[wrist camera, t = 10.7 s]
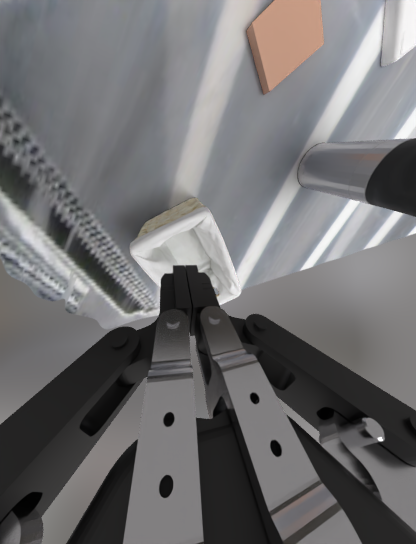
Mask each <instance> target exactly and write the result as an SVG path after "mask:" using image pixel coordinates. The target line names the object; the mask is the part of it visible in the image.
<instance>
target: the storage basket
mask: <svg viewBox="0 0 416 544" xmlns="http://www.w3.org/2000/svg"><path fill="white" fill-rule="evenodd" d="M130 254H131V255H132V257H133V258H134V259H135V261H136V262H137V263H138V264H139V265H140V266H141V268H142V269H143V270H144V271H145V272H146V273H147V274H148V276H149V277H150V278H151V279H152V280H153V281H154V282H155V283H156V285H157V286H158V287H159V288H160V289H161V278H162V276H163V275H164V273H173V265H184V266H185V265H197V268H198V272H205V273H206V274H207V275H208V276H209V277H210V280H211V284H212V286H213V288H216V289H217V291H218V292H219V294H218V295H216V297H217V300H218V303H219V305H221V304H223V303H226V302H228V301H230V300H232V299H234V298H236V297H238V296H239V295H240V293H241V287H240V283H239V280H238V277H237V274H236V271H235V269H234V266H233V263H232V261H231V258H230V255H229V253H228V250H227V247H226V245H225V242H224V240H223V237H222V235H221V233H220V231H219V228H218V226H217V224H216V222H215V220H214V217H213V215H212V213H211V211H210V210H209V209H208V208H207V207H206V206H204V205H203V204H202V203H201V202H200V201H198V198H191V199H189V200H187V201H186V202H183V203H181V204H179V205H177V206H175V207H173V208H171V209H170V210H167V211H165V212H163V213H162V214H160V215H158V216H155V217H154V218H153V219H150V220H148V221H147V222H146V223H145V224H144V225H143V227H142V228H141V230H140V232H139V234H138V237H137V238H136V239H135V240H134V241H132V242H131V244H130Z"/></svg>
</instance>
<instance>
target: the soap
mask: <svg viewBox="0 0 416 544" xmlns="http://www.w3.org/2000/svg"><path fill="white" fill-rule="evenodd" d="M415 46H416V0H386V4H385V17H384V30H383V42H382V55H381V66H382V67H383V66H386V65H389V64H392V63H394V62H396V61H397V60H399V59H400V58H401V57H403V56H404V55H405V54H406V53H407V52H409V51H410V50H411V49H412V48H414V47H415Z"/></svg>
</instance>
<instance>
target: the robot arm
mask: <svg viewBox="0 0 416 544" xmlns="http://www.w3.org/2000/svg"><path fill="white" fill-rule="evenodd" d="M298 179H299V182H300V184H301V185H302V186H303V187H305V188H309V189H313V190H317V191H321V192H324V193H328V194H332V195H336V196H340V197H344V198H348V199H352V200H355V201H360V202H363V203H367V204H371V205H375V206H379V207H383V208H386V209H390V210H394V211H397V212H401V213H405V214H408V215H411V216H415V217H416V138H415V139H394V140H376V141H355V142H333V143H320V144H317V145H315V146H314V147H312V148H311V149H310V150H309V151H308V152H307V153H306V155H305V156H304V158H303V159H302V161H301V164H300V166H299V170H298ZM189 332H190V336H193V335H195V338H196V353H197V357H198V362H199V366H200V370H201V374H202V378H203V382H204V387H205V398H206V405H207V410H208V414H209V419H202V418H196V411H195V395H194V380H193V368H192V365H191V354H190V336H189ZM145 377H147V382H146V389H145V396H144V403H143V410H142V416H141V424H140V430H139V437H138V439H137V440H136V441H135V442H134V443H133V444H132V445H131V446H130V447H128V449H126V451H125V452H124V453H123V454H122V455H121V457H120V458H119V459H118V460H117V462H116V463H115V464H114V466H113V467H112V469H111V470H110V472H109V473H108V475H107V476H106V478H105V480H104V481H103V483H102V485H101V486H100V488H99V490H98V491H97V493H96V495H95V496H94V498H93V500H92V501H91V503H90V505H89V506H88V508H87V510H86V511H85V513H84V515H83V516H82V518H81V520H80V521H79V523H78V525H77V527H76V528H75V530H74V531H73V533H72V535H71V536H70V538H69V540H68V542H67V543H66V544H416V411H415V410H414V409H412V408H411V407H409V406H407V405H406V404H404V403H402V402H401V401H399V400H398V399H396V398H394V397H393V396H391V395H390V394H388V393H387V392H385V391H383V390H381V389H380V388H378V387H377V386H375V385H374V384H372V383H370V382H369V381H367V380H366V379H364V378H362V377H361V376H359V375H358V374H356V373H354V372H353V371H351V370H350V369H348V368H346V367H345V366H343V365H342V364H340V363H338V362H337V361H335V360H334V359H332V358H330V357H329V356H327V355H325V354H324V353H322V352H321V351H319V350H317V349H316V348H314V347H312V346H311V345H309V344H308V343H306V342H305V341H303V340H301V339H300V338H298V337H296V336H295V335H293V334H291V333H290V332H289V331H287V330H285V329H284V328H282V327H280V326H279V325H277V324H276V323H274V322H272V321H271V320H269V319H268V318H266V317H264V316H262V315H259V314H252V315H249V316H248V317H247V319H246V320H245V319H239V318H234V317H231V316H229V315H228V314H227V313H226V312H225V311H224V310H223V309H221V308H220V305H219V303H218V300H217V297H216V294H215V291H214V289H213V286H212V284H211V280H210V277H209V276H208V275H207V274H206V273H205V272H198V268H197V265H185V266H184V265H173V273H164V275H163V276H162V278H161V289H160V314H159V317H158V318H157V320H156V321H155V322H154V323H152V324H151V325H149V326H147V327H145V328H142V329H139V330H137V331H136V330H135V329H134V328H132V327H119V328H116V329H114V330H112V331H110V332H109V333H107V334H106V335H105V336H104V337H103V338H102V339H100V340H99V341H98V342H97V343H96V344H94V345H93V346H92V347H91V348H90V349H89V350H87V351H86V352H85V353H84V354H83V355H82V356H80V357H79V358H78V359H77V360H76V361H74V362H73V363H72V364H71V365H70V366H69V367H67V368H66V369H65V370H64V371H63V372H61V373H60V374H59V375H58V376H57V377H56V378H54V379H53V380H52V381H51V382H50V383H49V384H47V385H46V386H45V387H44V388H43V389H42V390H40V391H39V392H38V393H37V394H36V395H35V396H33V397H32V398H31V399H30V400H29V401H27V402H26V403H25V404H24V405H23V406H22V407H20V408H19V409H18V410H17V411H16V412H15V413H14V414H12V415H11V416H10V417H9V418H8V419H6V420H5V421H4V422H3V423H2V424H1V425H0V544H41V543H42V539H43V521H42V518H41V517H42V515H43V514H44V513H45V511H46V510H47V509H48V507H49V506H50V505H51V503H52V502H53V500H54V499H55V498H56V497H57V495H58V494H59V493H60V491H61V490H62V489H63V487H64V486H65V484H66V483H67V482H68V480H69V479H70V478H71V476H72V475H73V474H74V472H75V471H76V470H77V468H78V467H79V465H80V464H81V463H82V462H83V460H84V459H85V457H86V456H87V455H88V453H89V452H90V451H91V449H92V448H93V447H94V445H95V444H96V443H97V441H98V440H99V439H100V437H101V436H102V434H103V433H104V432H105V430H106V429H107V428H108V426H109V425H110V424H111V422H112V421H113V420H114V418H115V417H116V416H117V414H118V413H119V412H120V410H121V409H122V408H123V406H124V405H125V404H126V402H127V401H128V399H129V398H130V397H131V395H132V394H133V393H134V391H135V390H136V389H137V387H138V386H139V385H140V383H141V382H142V380H143V379H144V378H145ZM277 397H278V398H280V399H281V400H282V401H283V402H284V403H286V404H287V405H288V406H289V407H290V408H292V409H293V410H294V411H295V412H296V413H298V414H299V415H300V416H301V417H302V418H304V419H305V420H306V421H307V422H308V423H310V424H311V425H312V426H313V427H314V428H316V429H317V430H318V431H319V434H320V436H319V442H320V444H319V443H318V442H317V441H316V440H315V439H313V438H312V437H311V436H310V435H309V434H308V433H307V432H306V431H305V430H304V429H302V428H301V427H300V426H299V425H298V424H297V423H296V422H295V421H294V420H293V419H291V418H290V417H289V416H288V415H286V413H285V412H284V410H283V408H282V406H281V404H280V402H279V400H278V398H277Z"/></svg>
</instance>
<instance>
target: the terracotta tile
mask: <svg viewBox="0 0 416 544" xmlns="http://www.w3.org/2000/svg"><path fill="white" fill-rule="evenodd" d="M246 32H247V36H248V39H249V43H250V46H251V50H252V54H253V57H254V61H255V65H256V68H257V72H258V76H259V79H260V83H261V86H262V90H263V94H266V93H268V92H270V91H271V90H272V89H273V88H274V87H275V86H277V85H278V84H279V83H280V82H281V81H282V80H283V79H285V78H286V77H287V76H288V75H289V74H290V73H291V72H292V71H294V70H295V69H296V68H297V67H298V66H299V65H300V64H302V63H303V62H304V61H305V60H306V59H307V58H308V57H309V56H311V55H312V54H313V53H314V52H315V51H316V50H317V49H319V48H320V47H321V46H322V45H323V44H324V39H323V26H322V14H321V1H320V0H274V1H273V2H272V3H271V4H270V5H269V6H268V7H267V8H266V9H265V10H264V11H263V12H262V13H261V14H260V15H259V16H258V17H257V18H256V19H255V20H254V21H253V22H252V24H251V25H250V27H249V28H248V29H247V31H246Z"/></svg>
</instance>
